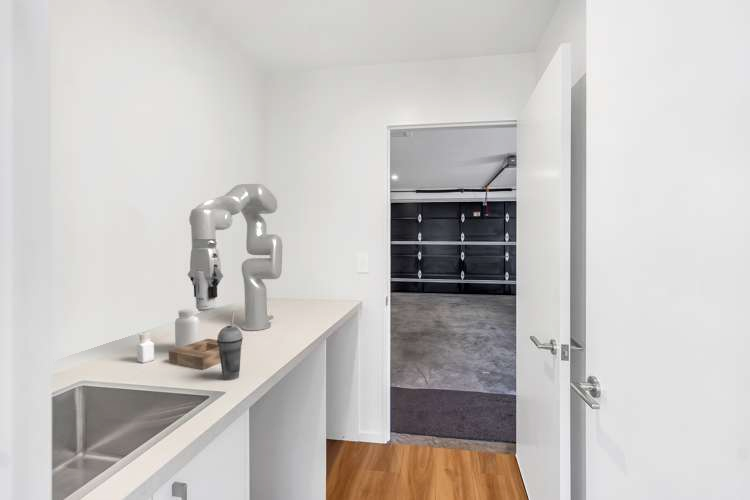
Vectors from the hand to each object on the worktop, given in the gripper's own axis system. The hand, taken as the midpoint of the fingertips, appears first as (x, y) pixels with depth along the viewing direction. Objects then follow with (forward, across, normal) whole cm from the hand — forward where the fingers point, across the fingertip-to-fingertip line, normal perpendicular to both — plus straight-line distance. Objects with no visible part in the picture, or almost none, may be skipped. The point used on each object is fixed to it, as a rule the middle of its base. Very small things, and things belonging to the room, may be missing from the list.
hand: (205, 296), depth 131 cm
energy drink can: (+5, 0, 0) cm, 5 cm away
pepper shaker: (+22, +18, +10) cm, 30 cm away
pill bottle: (+22, +14, -4) cm, 26 cm away
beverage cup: (+22, -20, +10) cm, 31 cm away
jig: (+22, 0, 0) cm, 22 cm away
